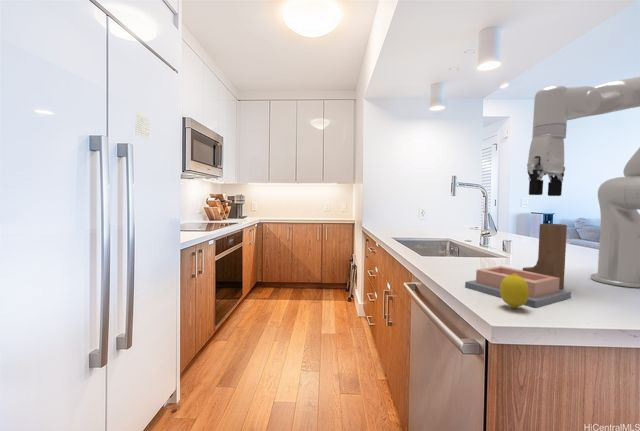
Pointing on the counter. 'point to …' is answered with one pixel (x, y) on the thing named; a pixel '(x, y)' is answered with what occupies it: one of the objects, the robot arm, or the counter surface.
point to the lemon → (514, 290)
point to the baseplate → (530, 300)
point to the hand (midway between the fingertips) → (545, 195)
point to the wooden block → (551, 252)
